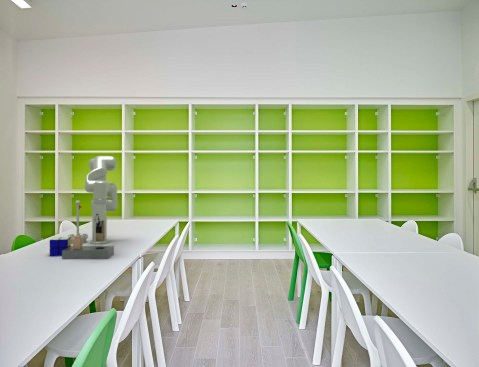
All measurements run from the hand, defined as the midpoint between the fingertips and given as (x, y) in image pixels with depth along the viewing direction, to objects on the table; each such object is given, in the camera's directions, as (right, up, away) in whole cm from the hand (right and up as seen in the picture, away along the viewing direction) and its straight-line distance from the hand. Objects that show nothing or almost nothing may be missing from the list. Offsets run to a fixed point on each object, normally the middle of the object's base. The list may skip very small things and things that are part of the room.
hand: (100, 232), depth 210 cm
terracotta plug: (-13, -13, 0) cm, 19 cm away
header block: (-7, -15, 0) cm, 16 cm away
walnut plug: (0, -5, 0) cm, 5 cm away
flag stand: (-31, -13, +39) cm, 52 cm away
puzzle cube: (-26, -14, +5) cm, 30 cm away
